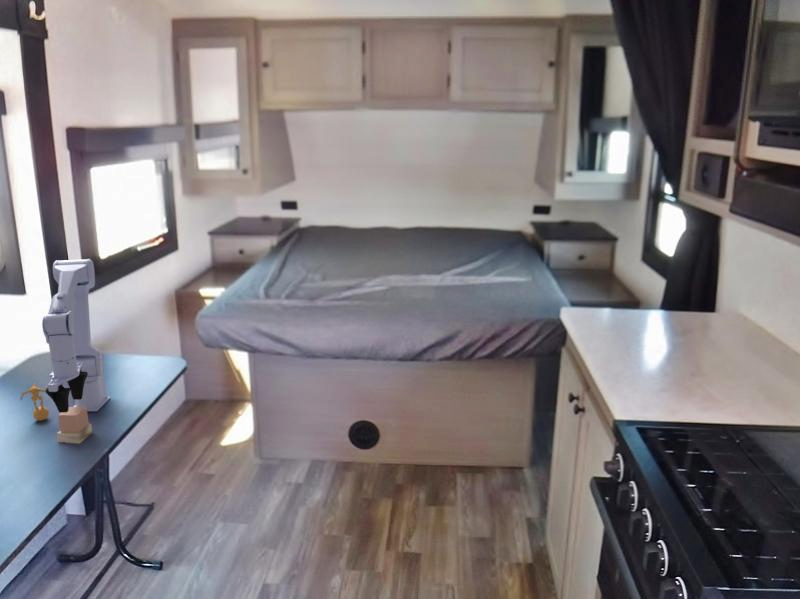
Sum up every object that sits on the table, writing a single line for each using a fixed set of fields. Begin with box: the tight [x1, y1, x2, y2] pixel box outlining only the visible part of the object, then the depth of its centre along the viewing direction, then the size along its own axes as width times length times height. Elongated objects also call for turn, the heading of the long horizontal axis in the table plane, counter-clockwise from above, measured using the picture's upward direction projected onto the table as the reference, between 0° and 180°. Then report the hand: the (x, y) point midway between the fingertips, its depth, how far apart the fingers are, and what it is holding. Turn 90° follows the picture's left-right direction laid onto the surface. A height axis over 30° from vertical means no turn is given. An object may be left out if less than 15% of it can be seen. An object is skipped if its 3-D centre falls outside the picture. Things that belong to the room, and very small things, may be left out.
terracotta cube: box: [57, 406, 90, 432], centre depth 169 cm, size 5×5×5 cm
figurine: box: [19, 383, 50, 422], centre depth 177 cm, size 8×6×12 cm
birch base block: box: [56, 423, 93, 444], centre depth 170 cm, size 6×6×3 cm
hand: (70, 405), depth 168 cm, fingers open, 7 cm apart
